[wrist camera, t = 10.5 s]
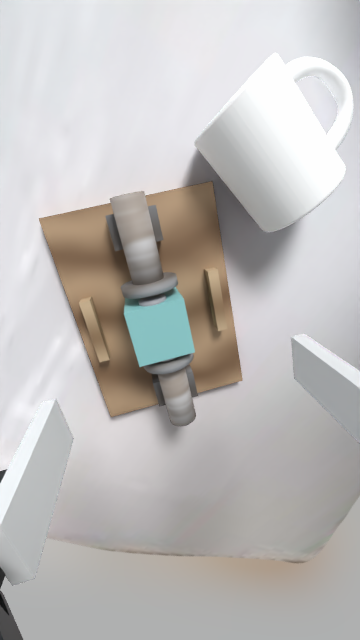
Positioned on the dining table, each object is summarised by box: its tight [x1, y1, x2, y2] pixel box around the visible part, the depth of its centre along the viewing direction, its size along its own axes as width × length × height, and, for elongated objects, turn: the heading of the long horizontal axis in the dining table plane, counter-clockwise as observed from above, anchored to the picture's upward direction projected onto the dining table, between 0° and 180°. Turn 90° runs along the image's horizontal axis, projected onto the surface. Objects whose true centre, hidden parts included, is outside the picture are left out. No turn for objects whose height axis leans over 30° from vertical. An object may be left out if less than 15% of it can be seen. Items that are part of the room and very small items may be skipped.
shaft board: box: [39, 181, 242, 426], centre depth 27 cm, size 22×16×7 cm
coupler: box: [124, 287, 195, 367], centre depth 27 cm, size 6×5×6 cm
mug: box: [194, 53, 353, 232], centre depth 24 cm, size 12×10×8 cm
